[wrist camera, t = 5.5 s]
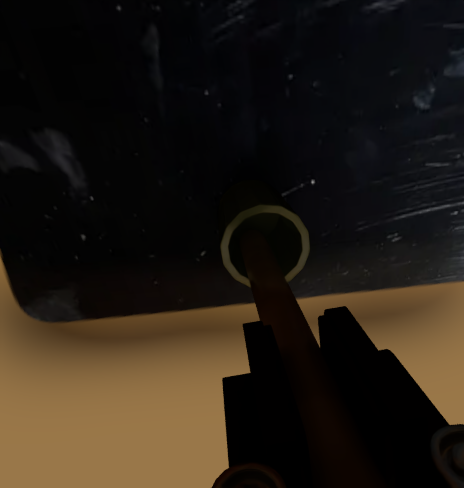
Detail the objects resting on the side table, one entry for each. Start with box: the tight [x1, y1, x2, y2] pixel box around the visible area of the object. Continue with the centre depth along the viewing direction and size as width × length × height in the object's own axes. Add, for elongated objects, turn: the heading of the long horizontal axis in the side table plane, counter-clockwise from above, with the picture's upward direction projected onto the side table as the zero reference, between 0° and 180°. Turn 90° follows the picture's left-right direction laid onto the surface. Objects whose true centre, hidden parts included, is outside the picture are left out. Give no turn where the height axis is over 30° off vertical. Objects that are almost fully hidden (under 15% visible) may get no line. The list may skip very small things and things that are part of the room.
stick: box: [239, 230, 389, 488], centre depth 13 cm, size 1×1×16 cm
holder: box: [217, 180, 310, 287], centre depth 22 cm, size 4×4×7 cm
